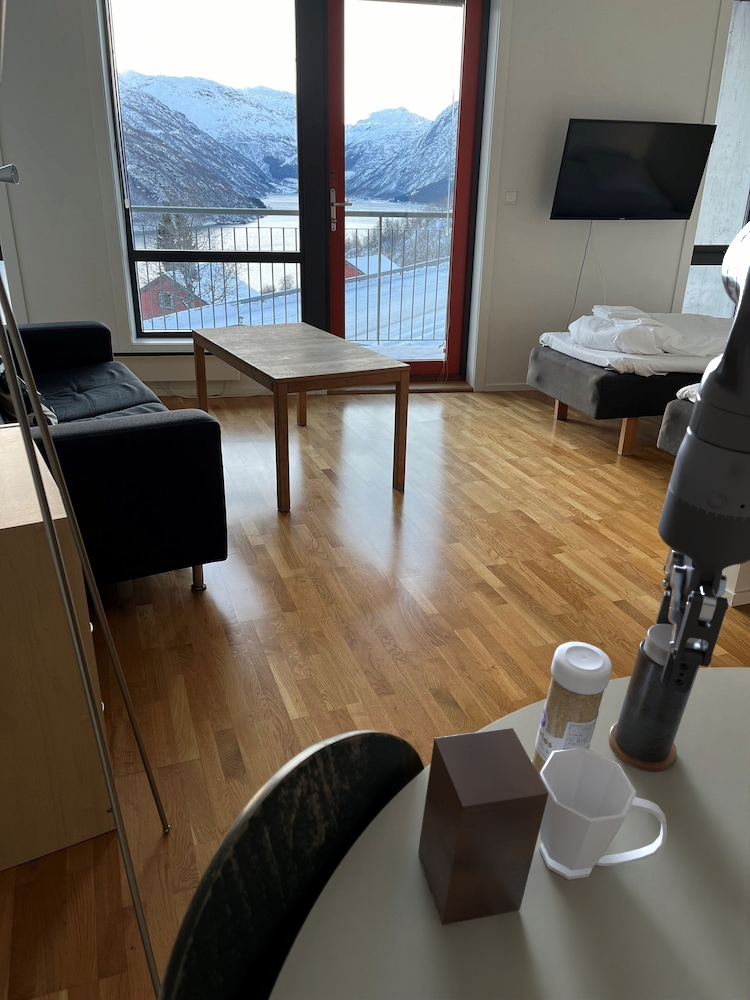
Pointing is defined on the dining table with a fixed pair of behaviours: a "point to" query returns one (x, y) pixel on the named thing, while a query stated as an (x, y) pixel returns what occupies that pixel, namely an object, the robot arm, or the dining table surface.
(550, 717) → the sprinkles bottle
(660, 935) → the dining table surface
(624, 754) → the coaster
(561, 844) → the cup
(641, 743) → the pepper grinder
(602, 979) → the dining table surface
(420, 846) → the walnut stand
